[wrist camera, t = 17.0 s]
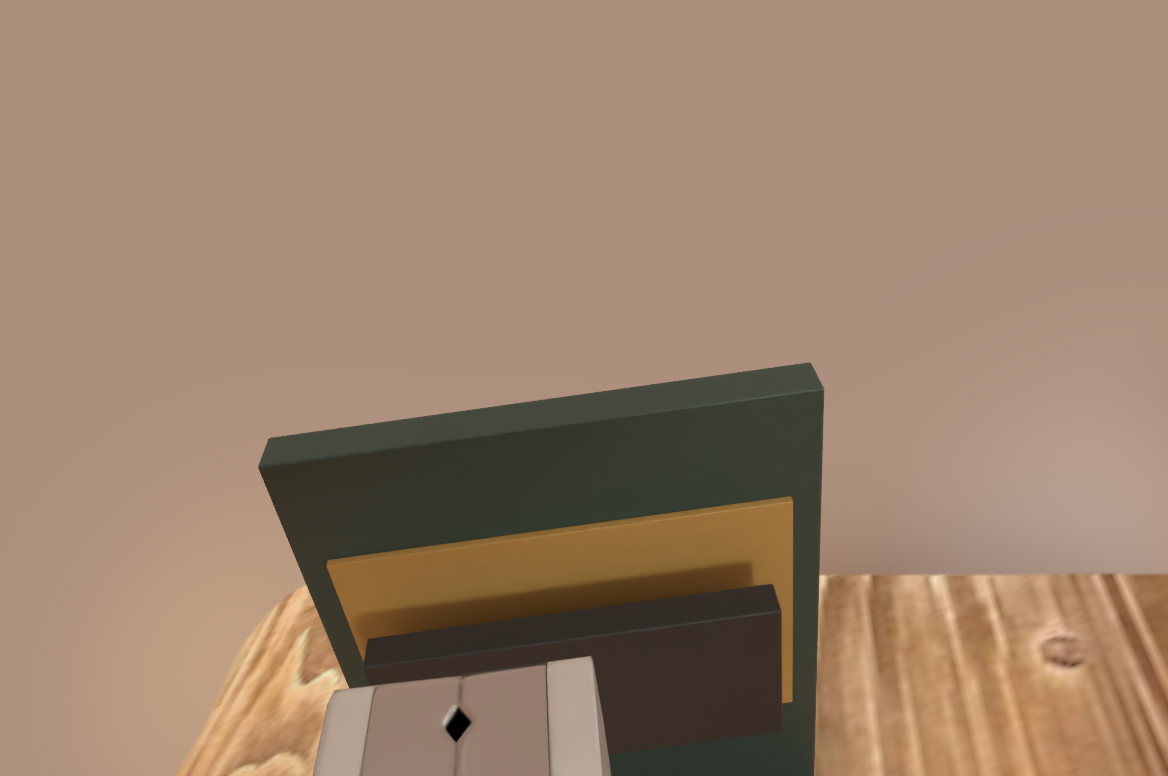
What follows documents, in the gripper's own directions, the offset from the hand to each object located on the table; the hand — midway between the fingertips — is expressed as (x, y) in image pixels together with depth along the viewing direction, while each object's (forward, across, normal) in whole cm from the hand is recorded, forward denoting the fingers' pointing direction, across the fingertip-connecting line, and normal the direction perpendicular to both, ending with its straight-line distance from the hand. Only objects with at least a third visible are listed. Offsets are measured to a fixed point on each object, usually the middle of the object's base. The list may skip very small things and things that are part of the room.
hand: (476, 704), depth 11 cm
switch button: (+13, 0, -19) cm, 23 cm away
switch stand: (+15, 0, -28) cm, 32 cm away
